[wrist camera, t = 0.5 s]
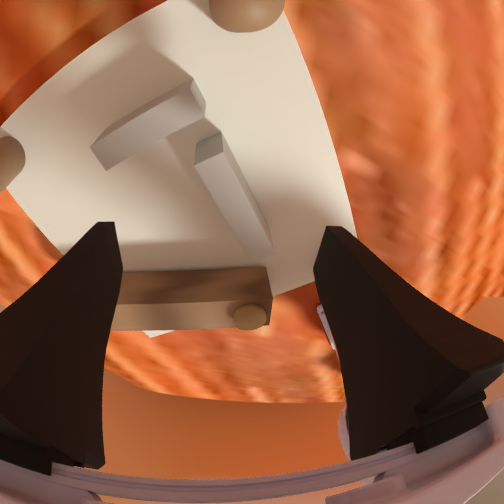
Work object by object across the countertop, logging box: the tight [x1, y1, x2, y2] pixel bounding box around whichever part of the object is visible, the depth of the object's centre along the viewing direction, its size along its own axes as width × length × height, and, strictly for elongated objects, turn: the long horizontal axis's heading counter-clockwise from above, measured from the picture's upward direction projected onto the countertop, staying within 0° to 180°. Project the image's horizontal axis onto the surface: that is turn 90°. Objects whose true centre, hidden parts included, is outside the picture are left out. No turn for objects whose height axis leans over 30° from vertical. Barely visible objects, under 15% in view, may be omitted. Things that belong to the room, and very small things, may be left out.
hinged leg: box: [111, 267, 273, 331], centre depth 21 cm, size 14×3×4 cm, turn 88°
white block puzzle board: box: [0, 0, 357, 338], centre depth 18 cm, size 22×20×6 cm
